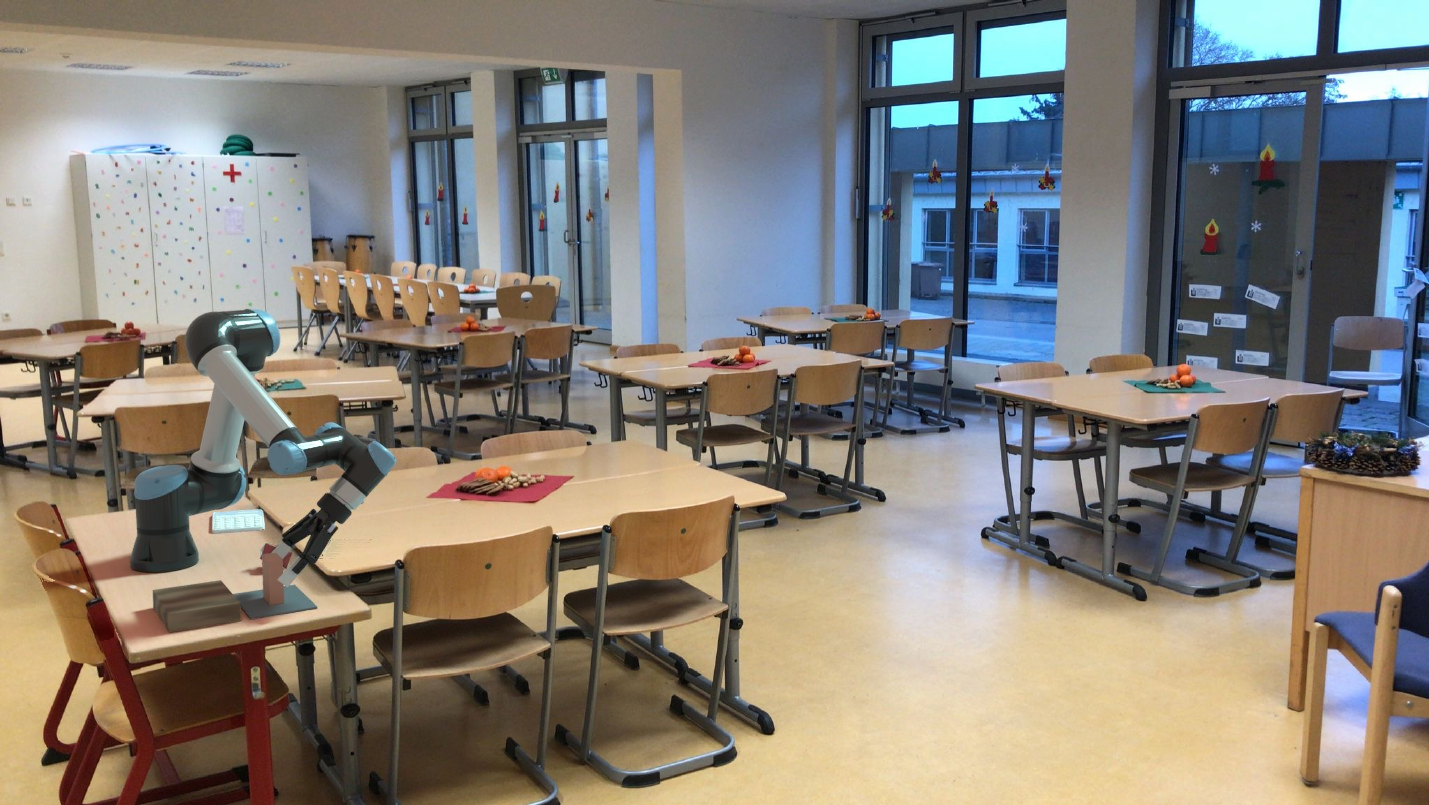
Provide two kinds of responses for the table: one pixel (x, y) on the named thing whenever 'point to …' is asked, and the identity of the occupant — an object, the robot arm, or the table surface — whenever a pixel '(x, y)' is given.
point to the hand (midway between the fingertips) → (274, 575)
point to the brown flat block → (196, 606)
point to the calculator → (237, 521)
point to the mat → (261, 608)
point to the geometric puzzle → (270, 548)
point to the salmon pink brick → (272, 578)
